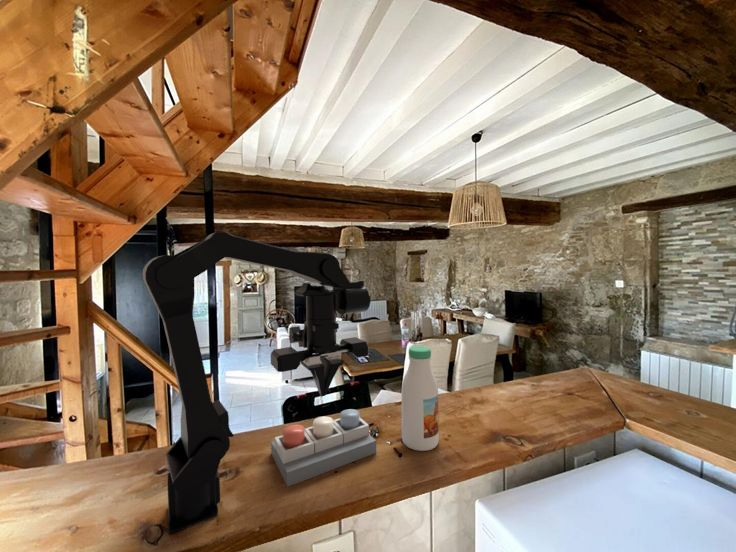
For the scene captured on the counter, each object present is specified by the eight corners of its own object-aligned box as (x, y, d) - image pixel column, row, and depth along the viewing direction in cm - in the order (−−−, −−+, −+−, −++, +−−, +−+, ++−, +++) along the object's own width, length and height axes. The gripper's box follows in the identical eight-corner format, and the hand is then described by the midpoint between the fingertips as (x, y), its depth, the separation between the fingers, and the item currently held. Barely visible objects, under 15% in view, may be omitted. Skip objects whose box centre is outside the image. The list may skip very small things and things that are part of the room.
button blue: (345, 432, 63) (345, 420, 63) (337, 423, 67) (337, 412, 67) (363, 426, 65) (362, 415, 65) (353, 418, 69) (353, 407, 69)
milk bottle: (410, 455, 62) (409, 355, 61) (396, 434, 70) (395, 345, 69) (445, 448, 64) (445, 351, 63) (428, 429, 72) (428, 342, 71)
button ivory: (317, 441, 60) (317, 428, 60) (310, 431, 64) (310, 419, 64) (336, 435, 62) (336, 423, 62) (328, 426, 66) (328, 414, 66)
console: (287, 486, 54) (286, 461, 54) (271, 453, 63) (270, 431, 63) (376, 452, 63) (376, 430, 63) (350, 428, 73) (350, 408, 72)
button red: (286, 451, 57) (286, 438, 57) (280, 440, 61) (280, 428, 60) (307, 444, 59) (307, 431, 59) (300, 434, 63) (300, 422, 63)
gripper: (345, 308, 74) (346, 374, 74) (262, 316, 64) (264, 391, 65) (370, 315, 64) (370, 390, 65) (277, 325, 54) (279, 414, 55)
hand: (322, 395), depth 63 cm, fingers closed
